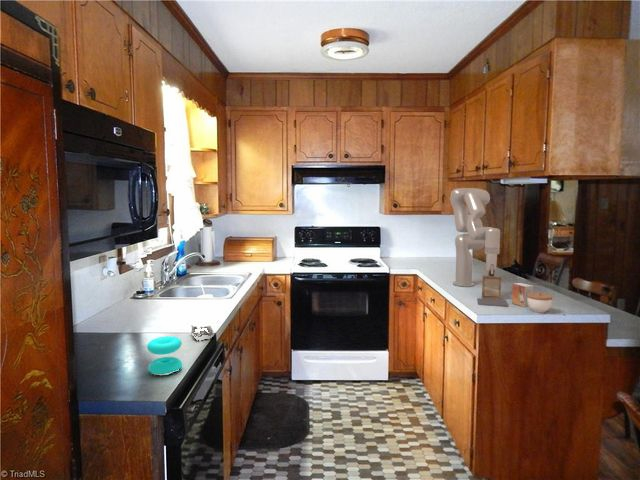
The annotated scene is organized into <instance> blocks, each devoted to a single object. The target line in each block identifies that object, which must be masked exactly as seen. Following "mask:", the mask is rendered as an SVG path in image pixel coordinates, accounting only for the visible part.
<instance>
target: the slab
mask: <svg viewBox="0 0 640 480" xmlns="http://www.w3.org/2000/svg"><path fill="white" fill-rule="evenodd" d="M481 281H482V285H481V299H495V300H501V298H502V297H501V296H502V294H501V291H502V276H501V275H500V276H499V275H494V276H488V275H482V280H481Z"/></svg>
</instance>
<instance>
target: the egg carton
mask: <svg viewBox="0 0 640 480" xmlns="http://www.w3.org/2000/svg"><path fill="white" fill-rule="evenodd" d="M200 328H201V329H202V328H207V330H208V332H209V333H206V331H205V330H204V331H200V334H201V335H200V334H197V333H194V332H195V329H198V328H197V326H193V325H191V334H192V333H193V334H194V336H195V335H196V336H198V337H201V336H202V335H208V336H211V335H213V336H214V330H213V328H212V326H211V325H208V326H200ZM200 328H199V329H200ZM199 335H200V336H199ZM196 336H195V337H196Z"/></svg>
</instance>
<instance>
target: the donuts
mask: <svg viewBox="0 0 640 480" xmlns="http://www.w3.org/2000/svg"><path fill="white" fill-rule="evenodd" d="M181 346H182V341H181V339H180V338H179V337H176V336H172V335H171V336H169V335H168V336H160V337H156V338H154V339H151V340H150V341H149V342H148V343H147V347H146V348H147V350H148V351H149V352H150V353H152V354H154V355H158V356H159V355H169V354H172V353H175V352H177V351H179V349H180V348H181ZM181 367H183V362H182V361H181V359H179V358H178V357H175V356H163V357H159V358H156V359H154V360H152V361H151V362H150V364H149V365H148V367H147V368H148V369H147V370H148V372H149V371H150V372H151V373H156V374H165V373H170V372H173V371H176V370H178V369H180V368H181ZM181 369H182V368H181ZM181 369H180V370H181ZM150 372H149V373H150ZM151 373H150V374H151Z"/></svg>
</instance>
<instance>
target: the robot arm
mask: <svg viewBox="0 0 640 480" xmlns="http://www.w3.org/2000/svg"><path fill="white" fill-rule="evenodd" d="M490 196H491V195H490V193H489V192H488V190H484V189H481V188H478V187H477V188H476V187H459V188H454V189H453V190H451V192H450V196H449V200H450V205H451V207H452V211H453V215H454V224H455V229H456V231H457V232H459V233H462V234H457V236H455V239H454V245H455V254H456V255H455V281H453V282H452V285H453V286H457V287H474V286H475V283H474V282H473V280H472V279H473V255H472V253H471V252H470V250H481V249H483V248H484V254H485V271H486V273H488V275H487V276H495V273H496V271H497V265H498V264H497V263H498V261H497V260H498V255H500V250H501V249H500V247H501V246H500V244H501V243H500V242H501V230H500V228H497V227H496V228H495V227H491V226H483V222H482V220H481V218H482V217H483V216H484V215H485V213H486V210H485V207H484V205H488V204H489V203H490V200H491V197H490ZM464 203H465V204H464Z"/></svg>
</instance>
